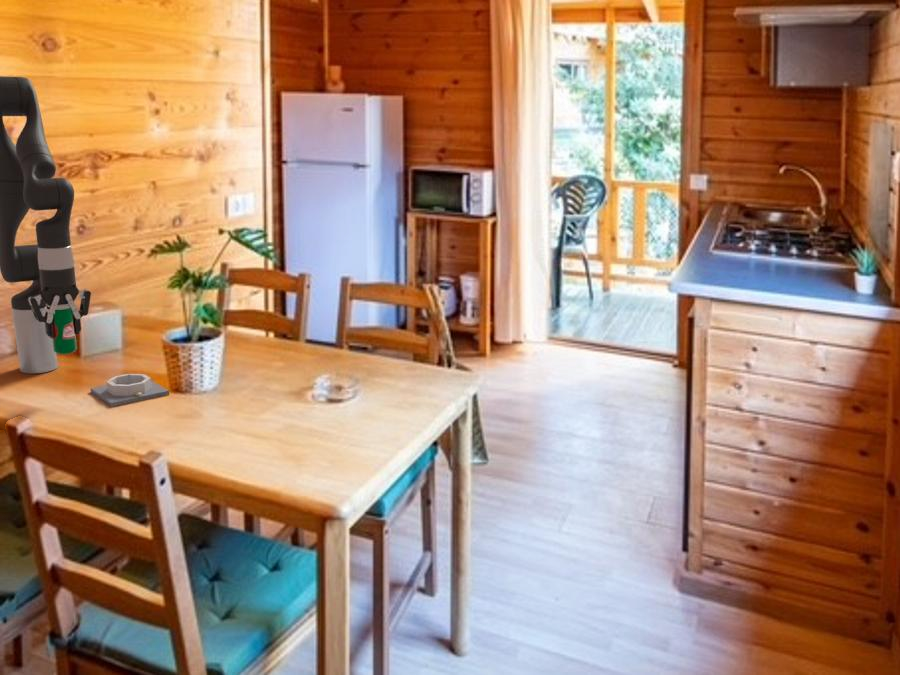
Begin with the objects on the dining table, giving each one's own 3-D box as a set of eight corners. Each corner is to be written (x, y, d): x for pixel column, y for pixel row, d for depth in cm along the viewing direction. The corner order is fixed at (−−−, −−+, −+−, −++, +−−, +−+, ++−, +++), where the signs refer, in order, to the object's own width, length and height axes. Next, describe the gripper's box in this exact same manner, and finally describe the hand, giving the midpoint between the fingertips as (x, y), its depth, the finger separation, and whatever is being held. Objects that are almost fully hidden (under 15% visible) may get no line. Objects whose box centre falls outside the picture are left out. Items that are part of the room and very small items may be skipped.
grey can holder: (90, 392, 211) (89, 378, 210) (146, 380, 220) (145, 367, 219) (111, 406, 201) (110, 392, 200) (169, 394, 210) (168, 381, 209)
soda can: (68, 355, 202) (63, 306, 198) (49, 353, 202) (43, 304, 199) (81, 349, 206) (76, 301, 203) (62, 347, 207) (57, 299, 204)
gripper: (82, 259, 206) (89, 327, 211) (18, 266, 197) (27, 337, 201) (93, 264, 200) (100, 334, 205) (28, 271, 191) (36, 344, 196)
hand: (64, 335), depth 203 cm, fingers closed on soda can, 5 cm apart
